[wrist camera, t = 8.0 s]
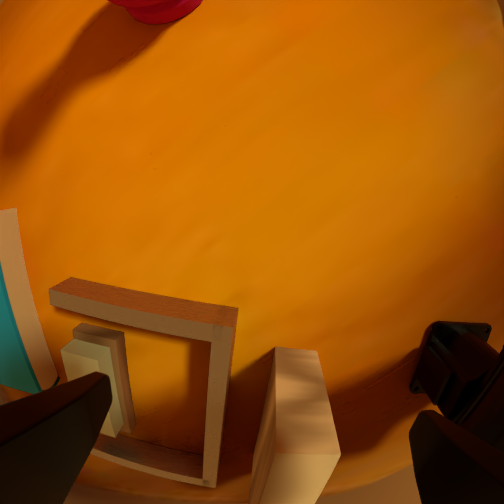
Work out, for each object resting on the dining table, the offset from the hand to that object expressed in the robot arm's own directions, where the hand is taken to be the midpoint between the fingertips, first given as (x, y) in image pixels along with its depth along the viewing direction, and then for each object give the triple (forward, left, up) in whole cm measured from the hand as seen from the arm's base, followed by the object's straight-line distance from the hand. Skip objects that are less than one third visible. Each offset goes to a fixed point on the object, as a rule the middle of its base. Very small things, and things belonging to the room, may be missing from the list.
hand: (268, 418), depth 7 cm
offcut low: (+12, +11, -14) cm, 21 cm away
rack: (+8, +11, -13) cm, 19 cm away
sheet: (-3, +11, -13) cm, 17 cm away
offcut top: (+12, +11, -12) cm, 20 cm away
